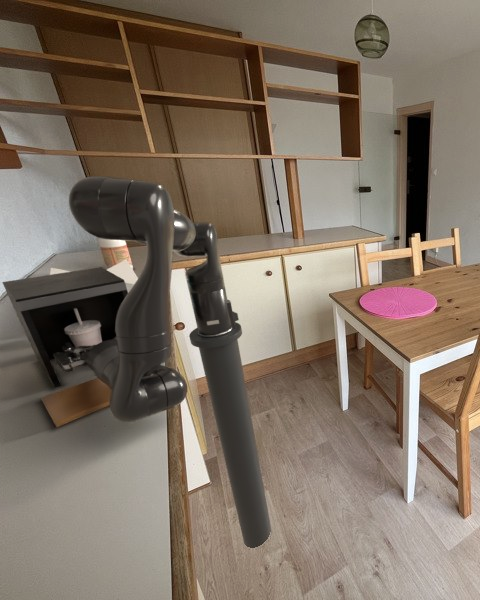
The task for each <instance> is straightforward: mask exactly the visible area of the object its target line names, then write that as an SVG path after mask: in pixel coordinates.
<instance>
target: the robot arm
mask: <svg viewBox="0 0 480 600" xmlns="http://www.w3.org/2000/svg"><path fill="white" fill-rule="evenodd" d="M68 207H69V210H70V212H71V215H72V216H73V218H74V220H75V221H76V223H77V224H78V225H79V226H80V227H81V229H83V231H84V232H86V233H88V234H89V235H91V236H94V237H96V238H97V239H99V238H102V239H109V240H123V241H127V242H136V243H138V244H141V245H144V246H146V257H145V261H144V265H143V268H142V270H141V272H140V274H139V276H138V279H137V281H136V282H135V284H134V285H133V287H132V288H131V290H130V291H129V292H128V294H127V295H126V297H125V298H124V300H123V301H122V303H121V305H120V307H119V309H118V312H117V315H116V321H115V333H116V336H115V337H114V338H113V339H112V340H106V341H103V342H101V343H99V344H97V345H93V346H79V347H77V348H73V346H72V345H71V344H70V343H69V342H68V343H65V346H62V349H63V351H64V352H63V353H62V352H57V353H54V354H53V356H54V357H55V359H54V360H55V363H56V365H57V366H58V367H59V368H60V369H61V370H62V371H63V372H64V373H71V372H73V371H74V368H75V367H77V366H78V367H79V366H80V365H81V366H82V365H83V366H88V368H89V369H90V370H91V371H92V372H93V374H94V376H95V378H98V379H100V380H101V381H102V382H104V383H106V384H107V386H108V387H109V388H110V389H111V390H112V391H111V395H110V402H109V404H110V405H109V410H110V413H111V415H112V416H113V417H114V418H115V419H116V420H117V421H119V422H121V423H125V424H126V423H128V424H129V423H135V422H137V421H140V420H141V421H142V420H143V419H146V418H148V417H151V416H154V415H157V414H159V413H162V412H165V411H168V410H170V409H171V410H172V409H174V408H175V407H178V406H179V405H180V404H182V402H183V401H184V400H185V399H186V397H187V395H188V384H187V380H186V379H185V377H184V375H182V373H180V372H179V371H177V370H176V369H174V368H172V367H169V366H166V365H164V363H165V362H166V363H167V361H169V359H170V358H171V356H172V352H173V350H172V348H173V347H172V336H171V335H172V334H171V325H170V323H171V322H170V292H171V283H172V274H173V273H172V272H173V271H172V270H173V260H174V259H173V258H174V257H173V256H174V254H175V255H177V256H180V257H186V258H187V257H188V258H189V257H190V258H191V257H206V260H204V261H203V262H202V263H200V264H198V265H195V266H192V267H190V268H188V269H186V271H185V272H184V273H185V275H184V276H185V279H186V284H187V288H188V292H189V297H190V301H191V307H192V310H193V311H192V312H193V315H194V319H195V324H196V328H197V329H198V334H199V336H201V337H205V338H213V337H219V336H222V335H225V334H227V333H229V332H231V331H232V330H233V329H235V322H238V321H239V313H238V312H235V311H234V310H233V307H232V301H231V300H230V299H228V296H227V291H226V284H225V279H224V273H223V268H222V262H221V257H220V247H219V239H218V232H217V230H216V227H215V226H214V224H213V223H210V222H193V221H192V219H190V217H188V216H187V215H186V214H185V213H183V212H181V211H180V210H178V209H177V208H176V207H175V208H174V204H173V200H172V197H171V195H170V193H169V191H168V190H167V189H166V187H165V186H164V185H163V184H161V183H158V182H153V181H147V180H138V179H128V178H121V177H112V176H106V175H102V176H101V175H100V176H99V175H93V176H92V175H91V176H87V177H83V178H81V179H80V180H77V182H76V183H74V184H73V185H72V187H71V189H70V192H69V195H68ZM162 364H163V365H162Z"/></svg>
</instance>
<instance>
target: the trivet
mask: <svg viewBox="0 0 480 600" xmlns="http://www.w3.org/2000/svg"><path fill="white" fill-rule="evenodd" d="M111 391H112V390H111V389H110V388H109V387H108V386H107V384H106V383H104V382H102V381H101V380H100V379H98V378H97V377H95V378H92V379H89V380H87V381H84V382H82V383H78V384H75V385H72V386H71V387H70V386H69V387H67V388H65V389H62V390H59V391H56V392H53V393H50V394H48V395H45V396H43V397H40V400H41V401H42V403H43V405H44V407H45V409H46V410H47V413H48V415H49V416H50V418H51V420H52V422H53V424H54V425H55V428H59V427H61V426H63V425H65V424H68V423H70V422H73V421H75V420H78V419H80V418H83V417H85V416H86V415H89V414H92V413H94V412H97V411H99V410H101V409H104V408H107V407H108V406H109V407H110V404H109V402H110V395H111Z"/></svg>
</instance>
